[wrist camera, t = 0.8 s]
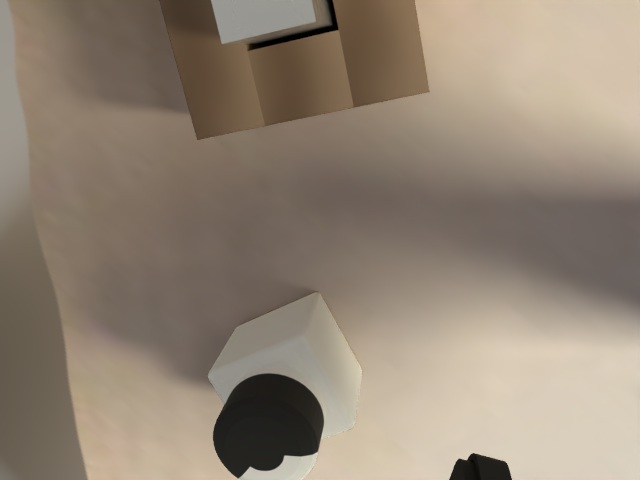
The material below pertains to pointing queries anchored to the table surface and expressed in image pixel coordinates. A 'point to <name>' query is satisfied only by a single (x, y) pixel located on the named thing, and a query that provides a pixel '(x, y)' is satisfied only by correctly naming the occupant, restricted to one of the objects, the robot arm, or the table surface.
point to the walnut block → (295, 65)
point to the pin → (271, 19)
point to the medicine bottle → (283, 391)
